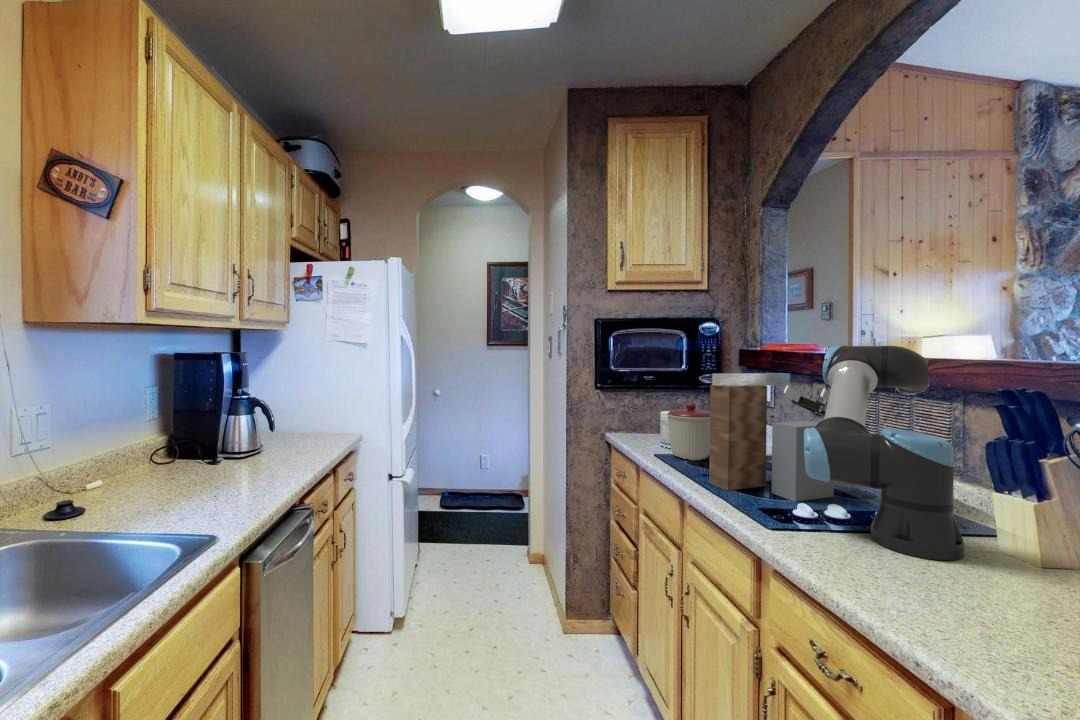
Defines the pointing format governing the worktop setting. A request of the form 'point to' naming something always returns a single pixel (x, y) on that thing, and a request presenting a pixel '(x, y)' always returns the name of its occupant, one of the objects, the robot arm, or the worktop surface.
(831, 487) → the gray rectangular block
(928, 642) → the worktop surface
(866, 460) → the robot arm
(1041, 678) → the worktop surface
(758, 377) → the steel lever bar
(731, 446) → the walnut column
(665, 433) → the supplement tub
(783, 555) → the worktop surface
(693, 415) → the canister
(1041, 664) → the worktop surface
